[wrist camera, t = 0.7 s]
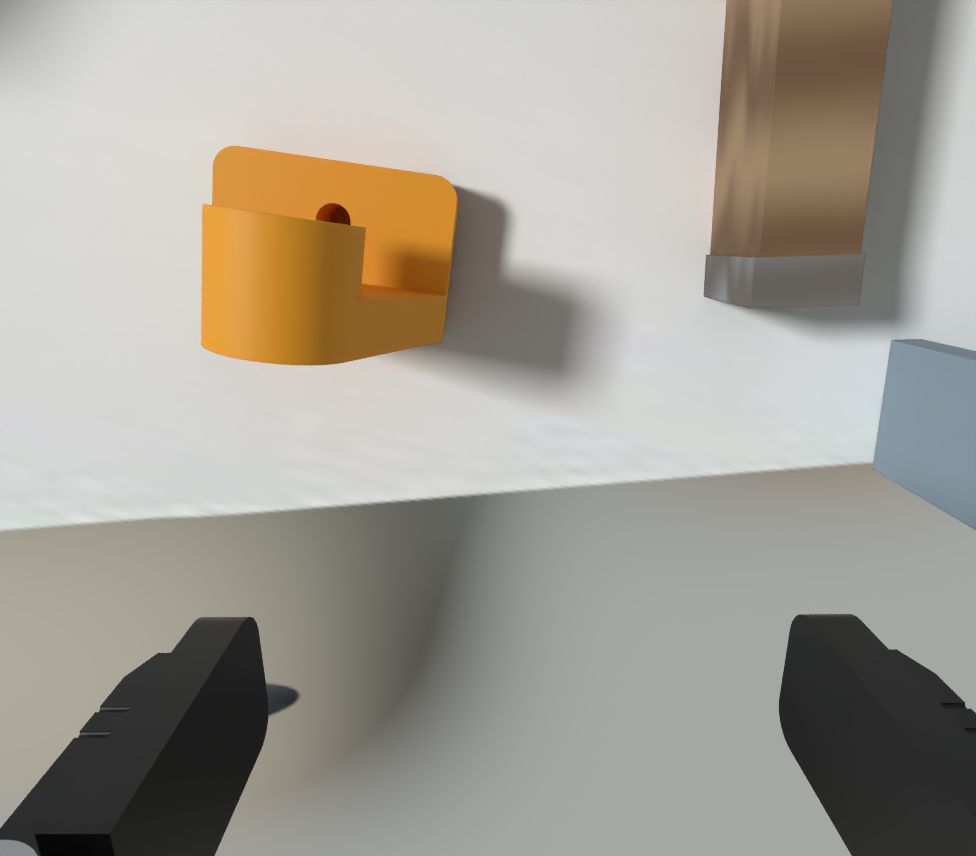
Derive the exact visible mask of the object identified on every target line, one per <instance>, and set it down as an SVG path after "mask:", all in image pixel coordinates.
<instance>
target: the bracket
mask: <svg viewBox="0 0 976 856" xmlns="http://www.w3.org/2000/svg"><path fill="white" fill-rule="evenodd" d="M340 207H344V208H345V209H346V211H347V212H348V214H349V216H350V221H351V224H350V225H346V224H339V223H332V222H330V219H331V216H332V214H333V212H334V211H335V210H336V209H338V208H340ZM458 207H459V199H458V195H457V193H456V191H455V189H454V188H453V186H452V185H451V183H450V182H449V181H448V180H446V179H445V178H443V177H441V176H437V175H431V174H424V173H417V172H410V171H403V170H397V169H390V168H383V167H376V166H369V165H363V164H356V163H349V162H342V161H335V160H328V159H322V158H315V157H308V156H301V155H294V154H288V153H281V152H274V151H267V150H260V149H253V148H247V147H240V146H229V147H226V148H224V149H222V150H221V151H220V152H219V153H218V154H217V156H216V157H215V160H214V163H213V195H212V205H205V204H203V212H202V308H201V345H202V347H204V348H205V349H207V350H209V351H211V352H214V353H217V354H220V355H223V356H227V357H232V358H237V359H242V360H248V361H255V362H263V363H272V364H286V365H328V364H338V363H344V362H348V361H353V360H358V359H362V358H367V357H372V356H376V355H381V354H386V353H390V352H395V351H399V350H404V349H409V348H413V347H418V346H423V345H427V344H432V343H437V342H441V340H442V338H443V334H444V326H445V317H446V309H447V300H448V292H449V283H450V275H451V266H452V258H453V250H454V241H455V233H456V224H457V216H458Z"/></svg>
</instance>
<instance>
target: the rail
mask: <svg viewBox="0 0 976 856" xmlns="http://www.w3.org/2000/svg"><path fill="white" fill-rule="evenodd" d="M892 2H893V0H727V2H726V17H725V33H724V48H723V64H722V80H721V95H720V111H719V126H718V142H717V158H716V173H715V189H714V205H713V220H712V236H711V251H710V255H706V266H705V282H704V297H708V298H712V299H716V300H720V301H724V302H728V303H732V304H736V305H740V306H744V307H748V308H771V307H802V306H834V305H859V298H860V290H861V283H862V275H863V267H864V260H865V254H860V252H861V244H862V236H863V228H864V221H865V213H866V205H867V197H868V189H869V182H870V174H871V166H872V158H873V150H874V143H875V135H876V127H877V119H878V111H879V104H880V96H881V88H882V80H883V72H884V65H885V57H886V49H887V41H888V33H889V25H890V18H891V10H892Z"/></svg>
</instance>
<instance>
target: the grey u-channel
mask: <svg viewBox="0 0 976 856" xmlns="http://www.w3.org/2000/svg"><path fill="white" fill-rule="evenodd" d="M873 470H875V471H876V472H878V473H880V474H882V475H883V476H885V477H887V478H888V479H890V480H892V481H893V482H895V483H897V484H899V485H900V486H902V487H903V488H905V489H907V490H909V491H910V492H912V493H914V494H915V495H917V496H919V497H920V498H922V499H924V500H925V501H927V502H929V503H931V504H932V505H934V506H936V507H937V508H939V509H941V510H942V511H944V512H946V513H947V514H949V515H951V516H952V517H954V518H956V519H958V520H959V521H961V522H963V523H964V524H966V525H968V526H970V527H971V528H973V529H976V351H972V350H967V349H963V348H958V347H954V346H949V345H945V344H940V343H936V342H931V341H927V340H922V339H912V340H892V341H891V348H890V354H889V361H888V368H887V375H886V382H885V388H884V395H883V402H882V409H881V416H880V422H879V429H878V436H877V443H876V450H875V456H874V463H873Z"/></svg>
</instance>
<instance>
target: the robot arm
mask: <svg viewBox="0 0 976 856" xmlns="http://www.w3.org/2000/svg"><path fill="white" fill-rule="evenodd" d="M779 715H780V722H781V727H782V730H783V734H784V737H785V740H786V742H787V744H788V746H789V748H790V750H791V752H792V754H793V755H794V757H795V759H796V761H797V762H798V764H799V766H800V767H801V769H802V771H803V773H804V774H805V776H806V778H807V779H808V781H809V783H810V784H811V786H812V788H813V790H814V792H815V793H816V795H817V797H818V798H819V800H820V802H821V803H822V805H823V807H824V809H825V810H826V812H827V814H828V816H829V817H830V819H831V821H832V822H833V824H834V826H835V828H836V829H837V831H838V833H839V834H840V836H841V838H842V840H843V841H844V843H845V845H846V846H847V848H848V850H849V852H850V853H851V855H852V856H976V713H975V712H974V711H973V710H972V709H967V708H966V707H965V702H964V701H963V700H962V699H961V698H960V697H959V696H958V695H957V694H956V693H955V692H954V691H953V690H951V688H949V686H947V685H946V684H945V683H944V682H943V681H942V680H941V679H940V678H939V677H938V676H937V675H936V674H935V673H934V672H932V671H930V670H929V669H927V668H925V667H924V666H922V665H920V664H919V663H917V662H916V661H914V660H912V659H911V658H909V657H908V656H906V655H904V654H903V653H901V652H900V651H898V650H889V649H888V648H887V647H886V646H885V645H884V644H883V643H882V642H881V641H880V640H879V639H878V638H877V637H876V636H875V635H874V634H873V633H872V632H871V631H870V629H869V628H868V627H867V626H866V625H865V624H864V623H863V622H862V621H861V620H860V619H859V618H858V617H856V616H854V615H851V614H813V615H812V614H809V615H798V616H796V617H795V618H794V620H793V621H792V624H791V628H790V633H789V640H788V646H787V653H786V659H785V666H784V672H783V678H782V685H781V691H780V698H779ZM267 724H268V696H267V689H266V682H265V674H264V667H263V660H262V653H261V645H260V638H259V631H258V626H257V623H256V621H255V620H254V618H252V617H201V618H199V619H197V620H196V621H195V622H194V623H193V624H192V626H191V627H190V628H189V630H188V631H187V632H186V634H185V635H184V636H183V638H182V639H181V640H180V642H179V643H178V644H177V646H176V647H175V648H174V650H173V651H172V652H171V653H157V654H156V655H155V656H153V657H152V658H151V659H149V660H148V661H146V662H145V663H143V664H142V665H141V666H139V667H138V668H136V669H135V670H134V671H132V672H131V673H129V674H128V675H127V676H125V677H124V678H123V679H122V680H121V682H120V683H119V684H118V685H117V686H116V688H115V689H114V690H113V691H112V693H111V694H110V695H109V696H108V697H107V699H106V700H105V701H104V702H103V704H102V705H101V706H100V711H99V712H95V713H94V715H93V716H92V717H91V718H90V719H89V721H88V722H87V723H86V724H85V726H84V727H83V728H82V729H81V730H80V735H79V737H78V738H74V739H73V740H72V741H71V743H70V744H69V745H68V746H67V748H66V749H65V750H64V751H63V753H62V754H61V755H60V756H59V757H58V759H57V760H56V761H55V762H54V763H53V765H52V766H51V767H50V768H49V770H48V771H47V772H46V773H45V775H44V776H43V777H42V778H41V779H40V781H39V782H38V783H37V784H36V786H35V787H34V788H33V789H32V790H31V792H30V793H29V794H28V795H27V797H26V798H25V799H24V800H23V801H22V803H21V804H20V805H19V806H18V808H17V809H16V810H15V811H14V812H13V814H12V815H11V816H10V817H9V818H8V820H7V821H6V822H5V823H4V825H3V826H2V827H1V828H0V856H214V855H215V853H216V851H217V849H218V846H219V844H220V842H221V840H222V837H223V835H224V833H225V830H226V828H227V826H228V823H229V821H230V819H231V817H232V814H233V812H234V810H235V808H236V805H237V803H238V801H239V799H240V796H241V794H242V792H243V790H244V787H245V785H246V783H247V780H248V778H249V776H250V773H251V771H252V769H253V767H254V764H255V762H256V760H257V757H258V755H259V753H260V751H261V748H262V746H263V742H264V738H265V735H266V730H267Z"/></svg>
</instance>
